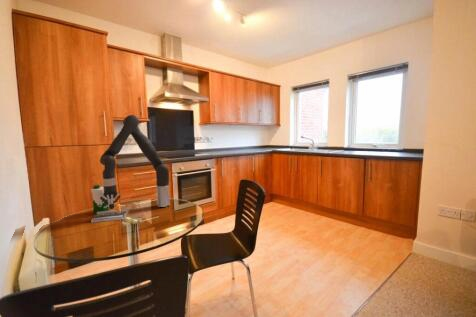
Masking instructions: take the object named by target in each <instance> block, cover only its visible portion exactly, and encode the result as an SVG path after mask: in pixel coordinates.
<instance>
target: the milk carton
mask: <svg viewBox="0 0 476 317" xmlns="http://www.w3.org/2000/svg"><path fill="white" fill-rule="evenodd" d="M100 185H101V184H96V185H95V184H94V185H93V186H92V188H91V189H90V193H91V196H92V205H93V207H92V209H93V214H95V215H96V214H97V212H102V211H110V209H109V204H106V203H105V202H103V201H102V200H101V199H100V197H101V196H103V194H104V188H103V186H100ZM105 199H106V200H107V201H108V199H107V198H106V197H105Z"/></svg>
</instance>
